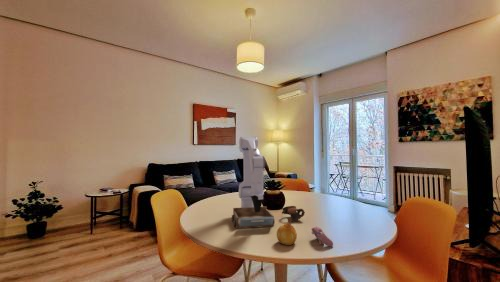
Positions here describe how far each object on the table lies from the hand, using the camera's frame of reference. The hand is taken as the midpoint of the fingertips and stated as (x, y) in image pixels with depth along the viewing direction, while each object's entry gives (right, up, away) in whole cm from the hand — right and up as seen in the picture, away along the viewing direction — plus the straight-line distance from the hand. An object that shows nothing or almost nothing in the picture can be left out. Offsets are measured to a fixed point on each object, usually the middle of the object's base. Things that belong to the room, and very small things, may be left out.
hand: (257, 212), depth 107 cm
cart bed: (-2, -9, +11) cm, 14 cm away
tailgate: (-1, -7, +3) cm, 7 cm away
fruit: (+11, -8, -14) cm, 20 cm away
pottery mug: (+20, -9, +16) cm, 27 cm away
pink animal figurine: (+26, -9, -13) cm, 30 cm away
